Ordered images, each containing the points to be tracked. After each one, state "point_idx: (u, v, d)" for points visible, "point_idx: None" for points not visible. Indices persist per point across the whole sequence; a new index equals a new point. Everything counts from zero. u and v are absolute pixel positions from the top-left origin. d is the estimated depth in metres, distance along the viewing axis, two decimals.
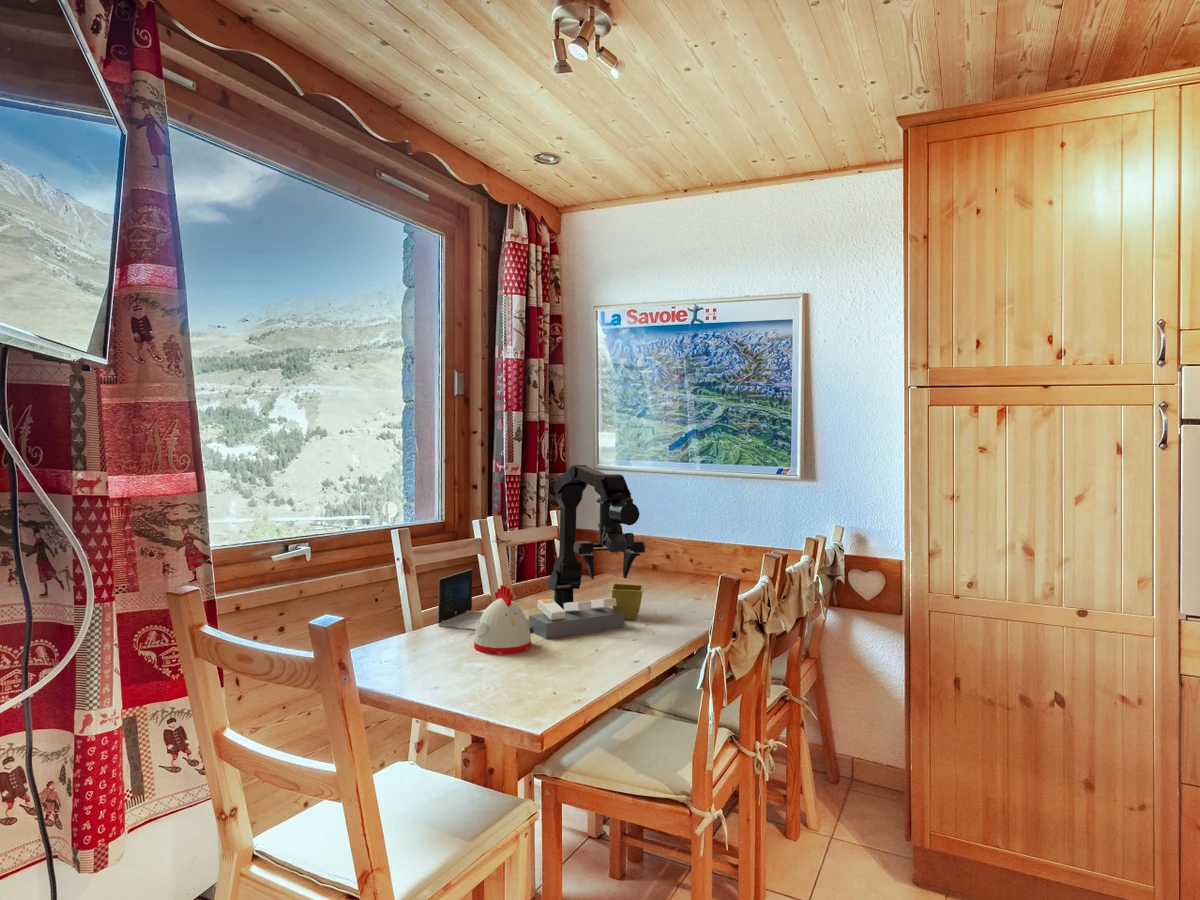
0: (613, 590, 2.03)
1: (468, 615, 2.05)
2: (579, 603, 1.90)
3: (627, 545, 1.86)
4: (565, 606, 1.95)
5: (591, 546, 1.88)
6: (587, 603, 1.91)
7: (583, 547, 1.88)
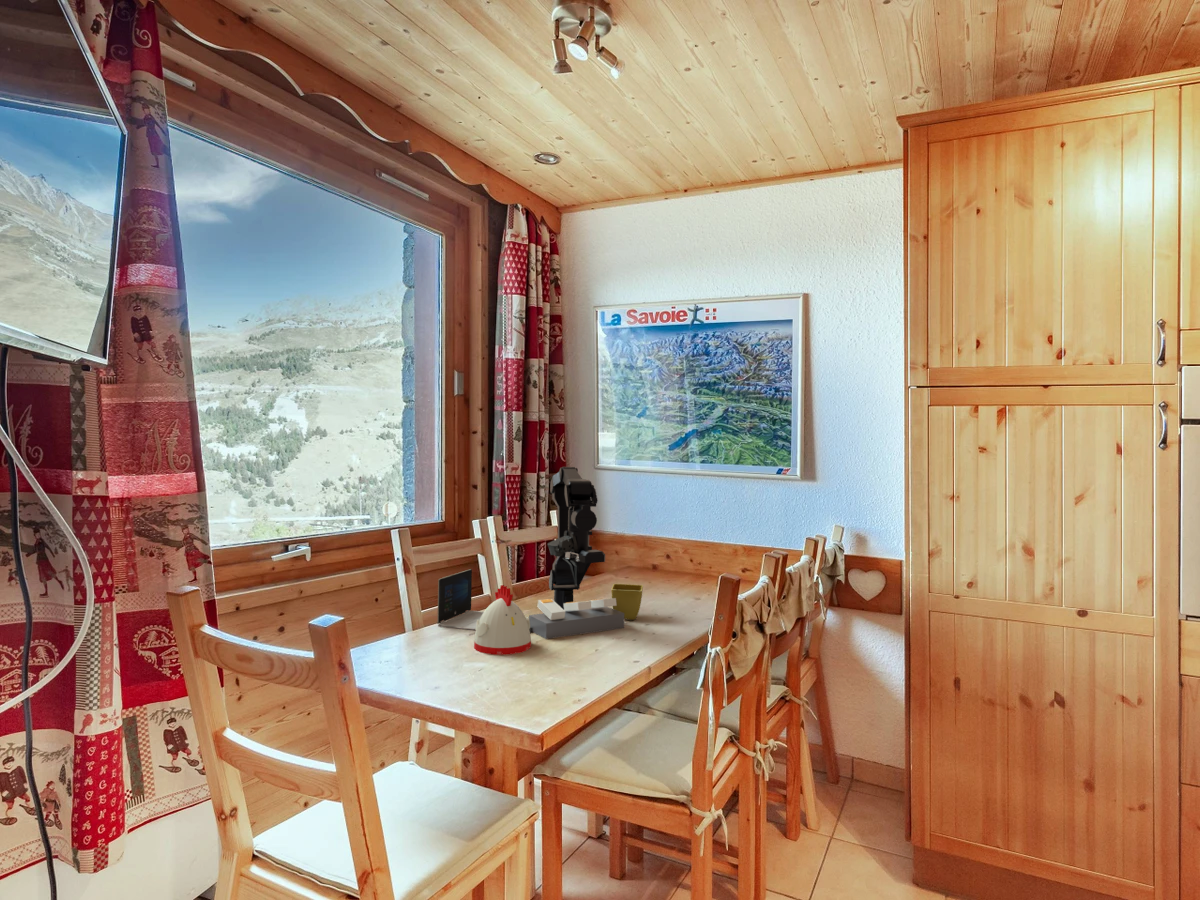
0: (613, 590, 2.03)
1: (467, 615, 2.05)
2: (579, 603, 1.90)
3: (556, 550, 1.88)
4: (565, 606, 1.95)
5: None
6: (587, 603, 1.91)
7: None
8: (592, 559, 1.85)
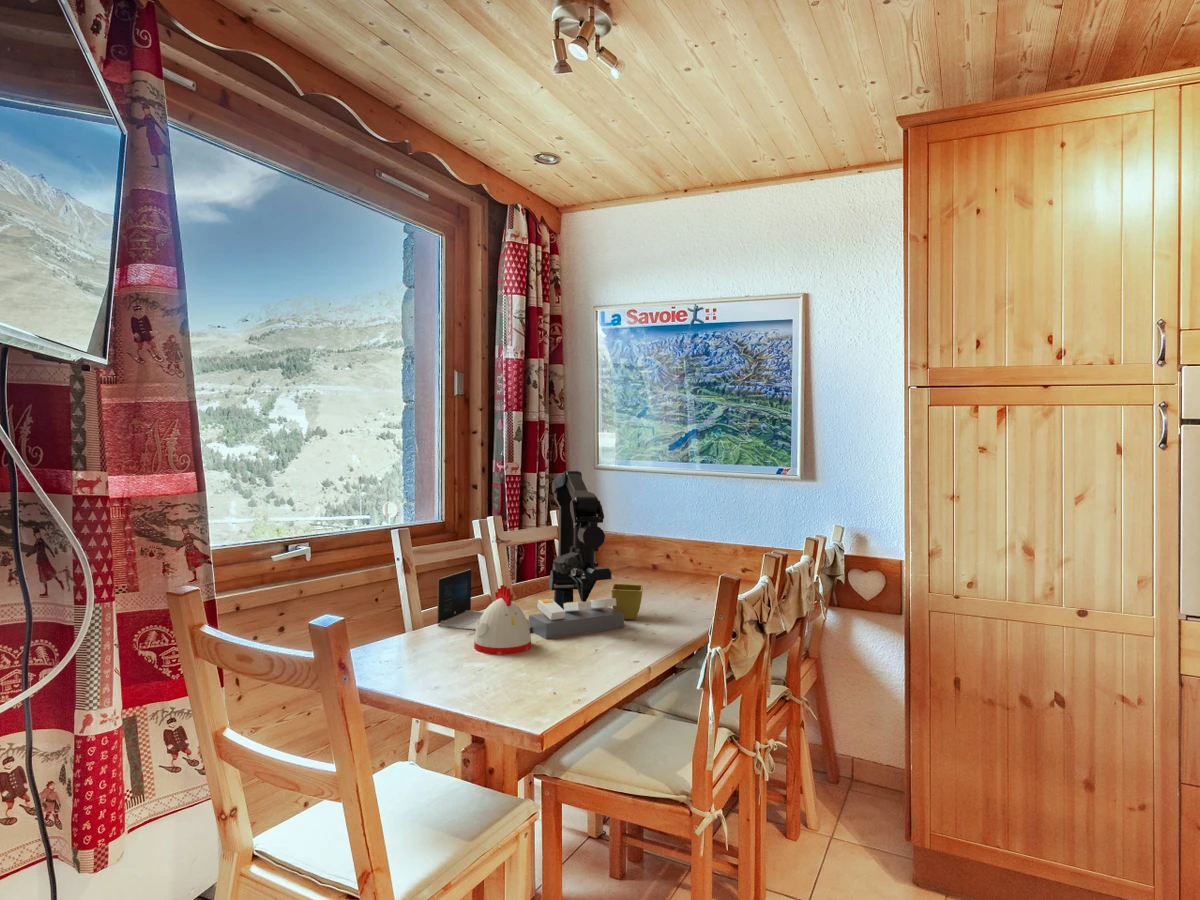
0: (613, 590, 2.03)
1: (467, 615, 2.05)
2: (579, 603, 1.90)
3: (562, 567, 1.85)
4: (565, 606, 1.95)
5: None
6: (587, 603, 1.91)
7: None
8: (598, 576, 1.83)
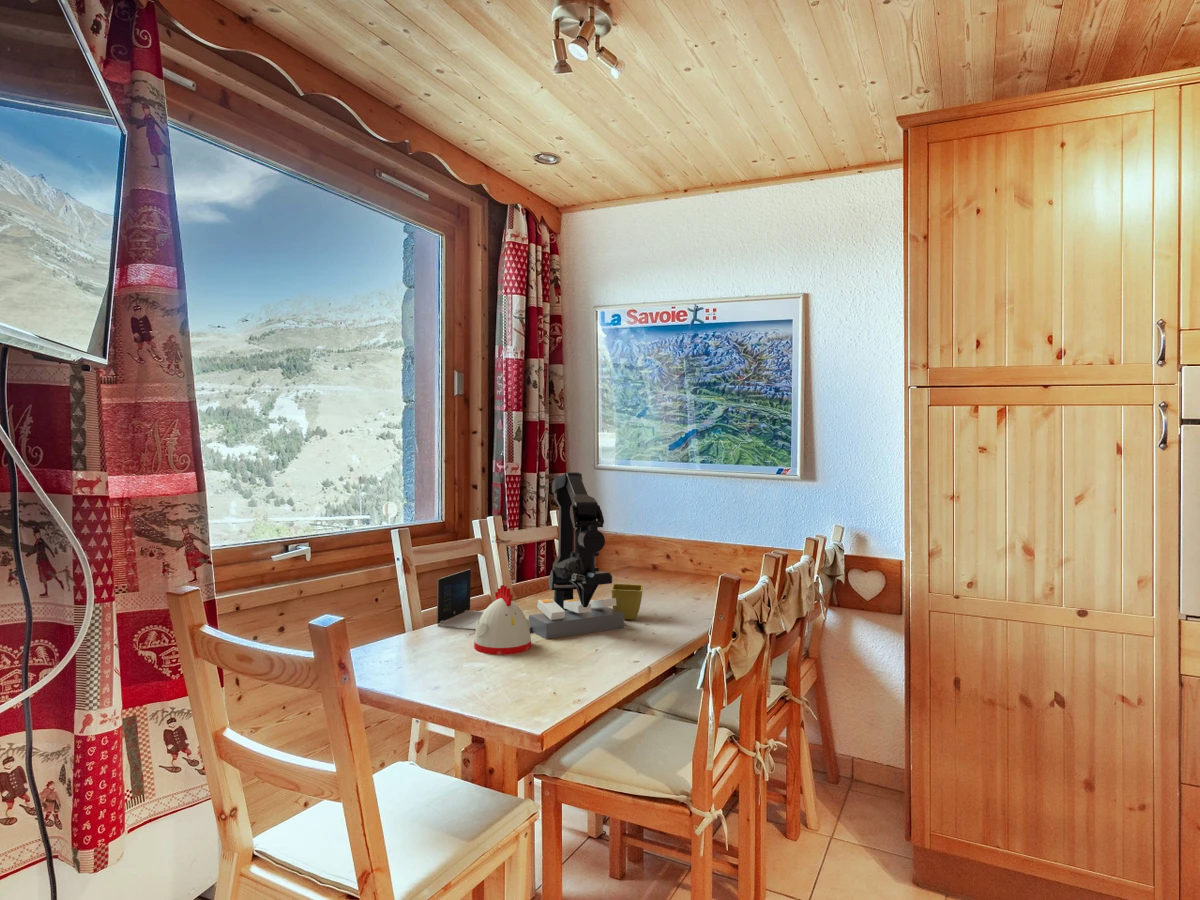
0: (613, 590, 2.03)
1: (467, 615, 2.05)
2: (579, 606, 1.90)
3: (562, 572, 1.85)
4: (565, 604, 1.95)
5: None
6: (587, 606, 1.91)
7: None
8: (599, 581, 1.82)
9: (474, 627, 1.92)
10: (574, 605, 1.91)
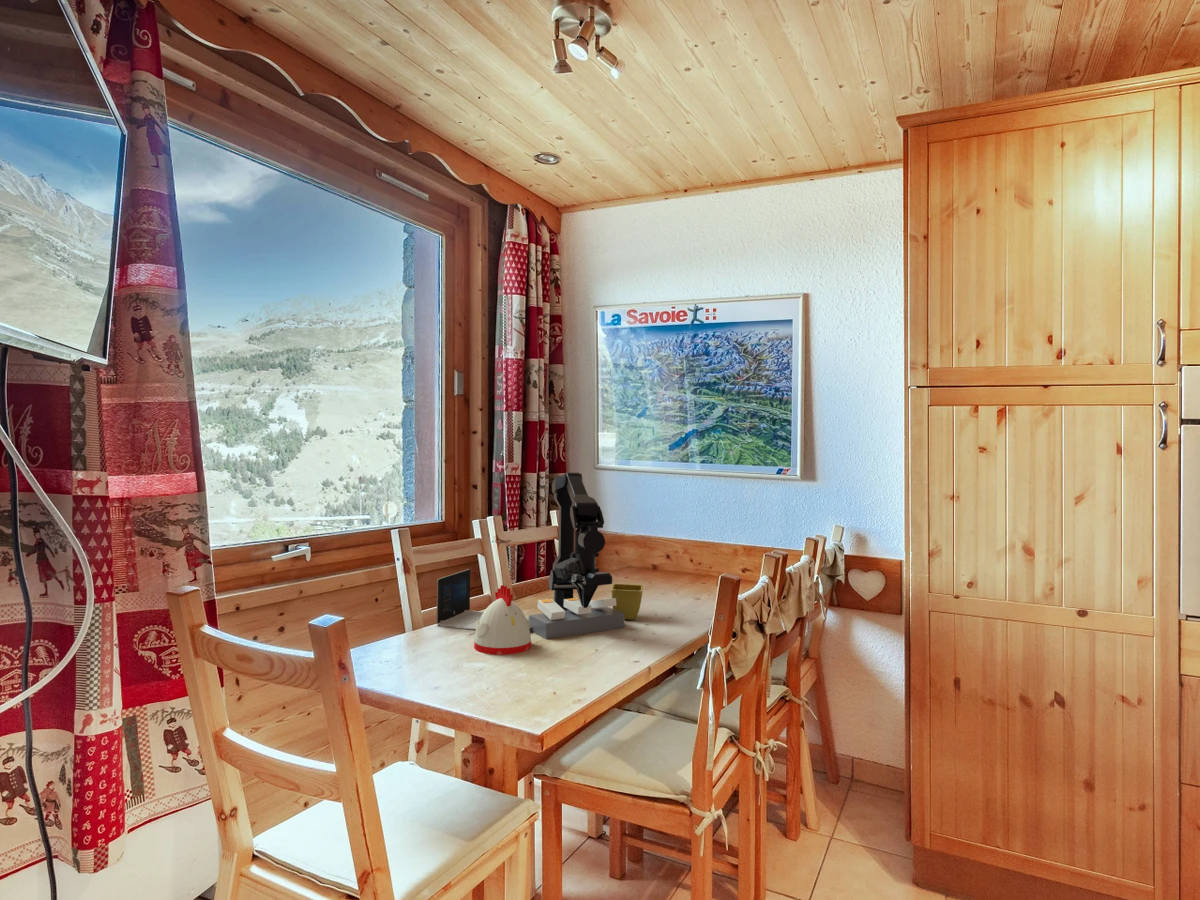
0: (613, 590, 2.03)
1: (466, 615, 2.05)
2: (579, 607, 1.90)
3: (562, 572, 1.85)
4: (565, 603, 1.95)
5: None
6: (587, 607, 1.91)
7: None
8: (599, 581, 1.82)
9: (474, 627, 1.92)
10: (574, 606, 1.91)
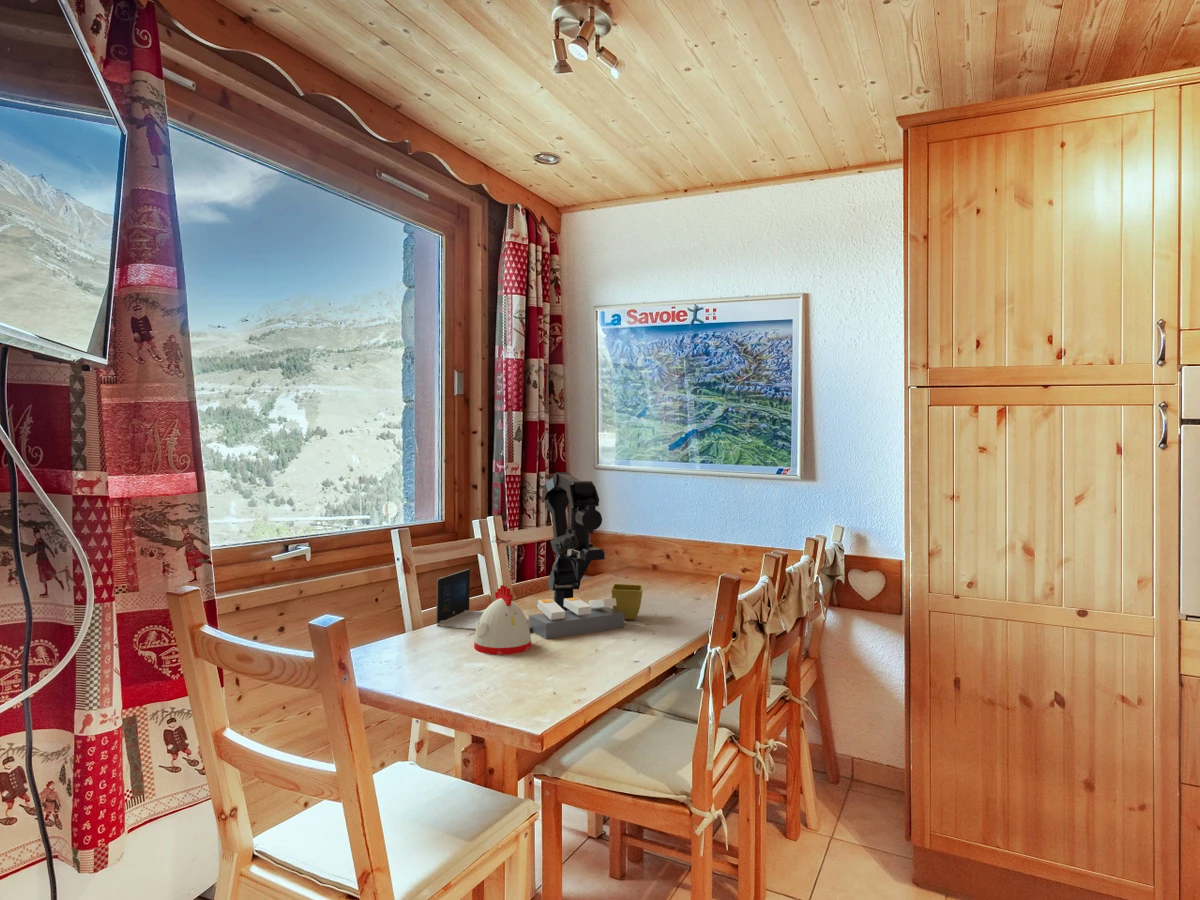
0: (613, 590, 2.03)
1: (466, 615, 2.05)
2: (580, 608, 1.90)
3: (558, 547, 1.97)
4: (565, 602, 1.95)
5: None
6: (587, 608, 1.91)
7: None
8: (592, 557, 1.94)
9: (474, 627, 1.92)
10: (574, 606, 1.91)
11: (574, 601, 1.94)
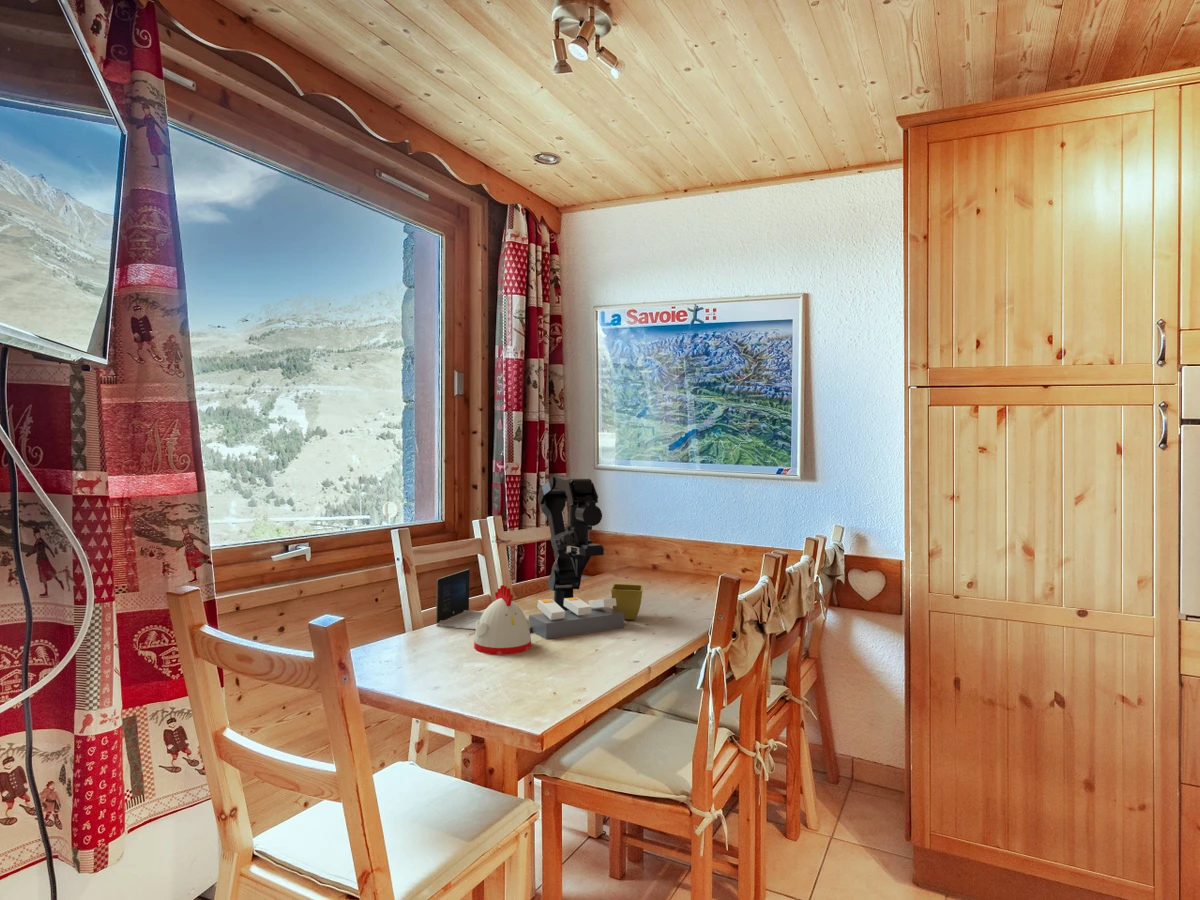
0: (613, 590, 2.03)
1: (466, 615, 2.05)
2: (580, 608, 1.90)
3: (558, 544, 1.99)
4: (565, 602, 1.95)
5: None
6: (587, 608, 1.91)
7: None
8: (592, 552, 1.97)
9: (473, 627, 1.92)
10: (574, 606, 1.91)
11: (574, 601, 1.94)
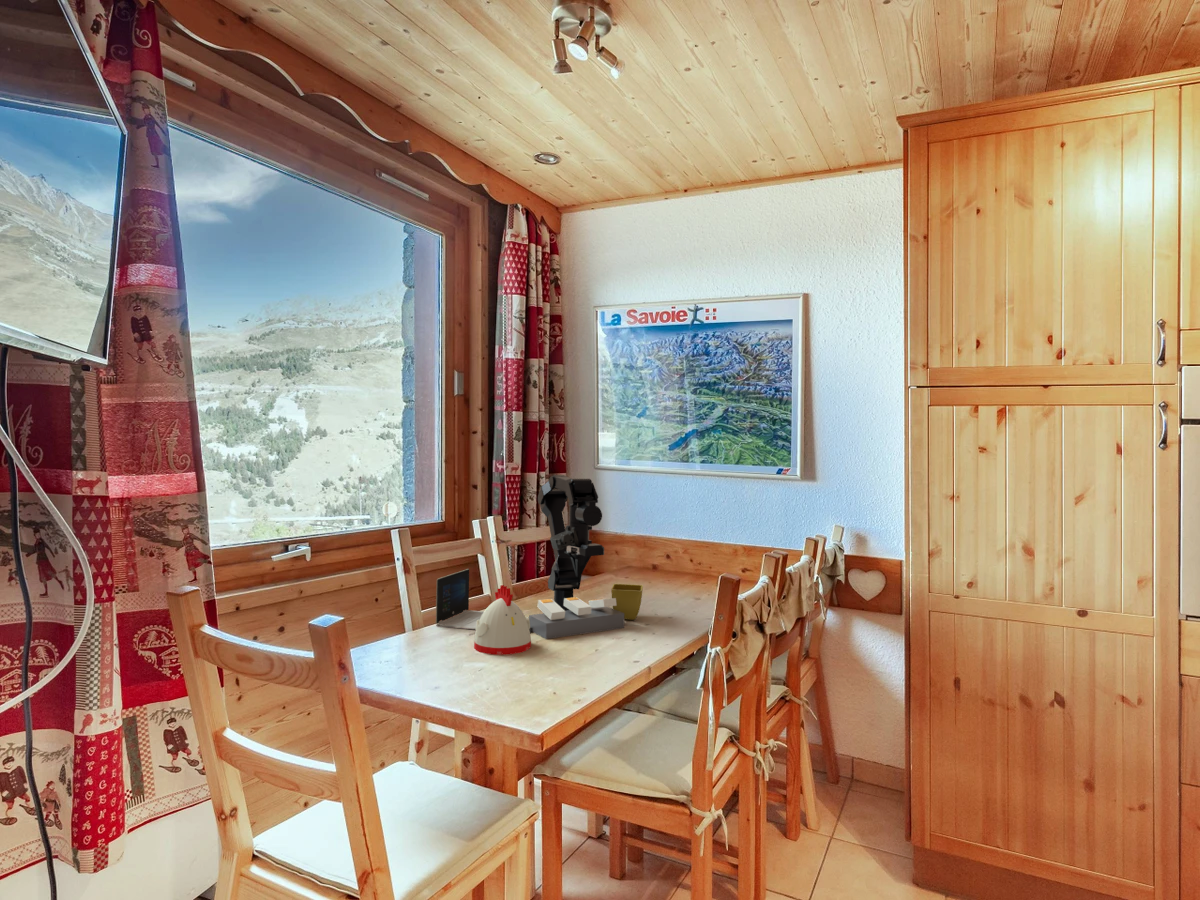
0: (613, 590, 2.03)
1: (465, 615, 2.05)
2: (580, 609, 1.90)
3: (558, 544, 1.99)
4: (565, 602, 1.95)
5: None
6: (587, 608, 1.91)
7: None
8: (592, 552, 1.97)
9: (473, 627, 1.92)
10: (574, 606, 1.91)
11: (574, 601, 1.94)
